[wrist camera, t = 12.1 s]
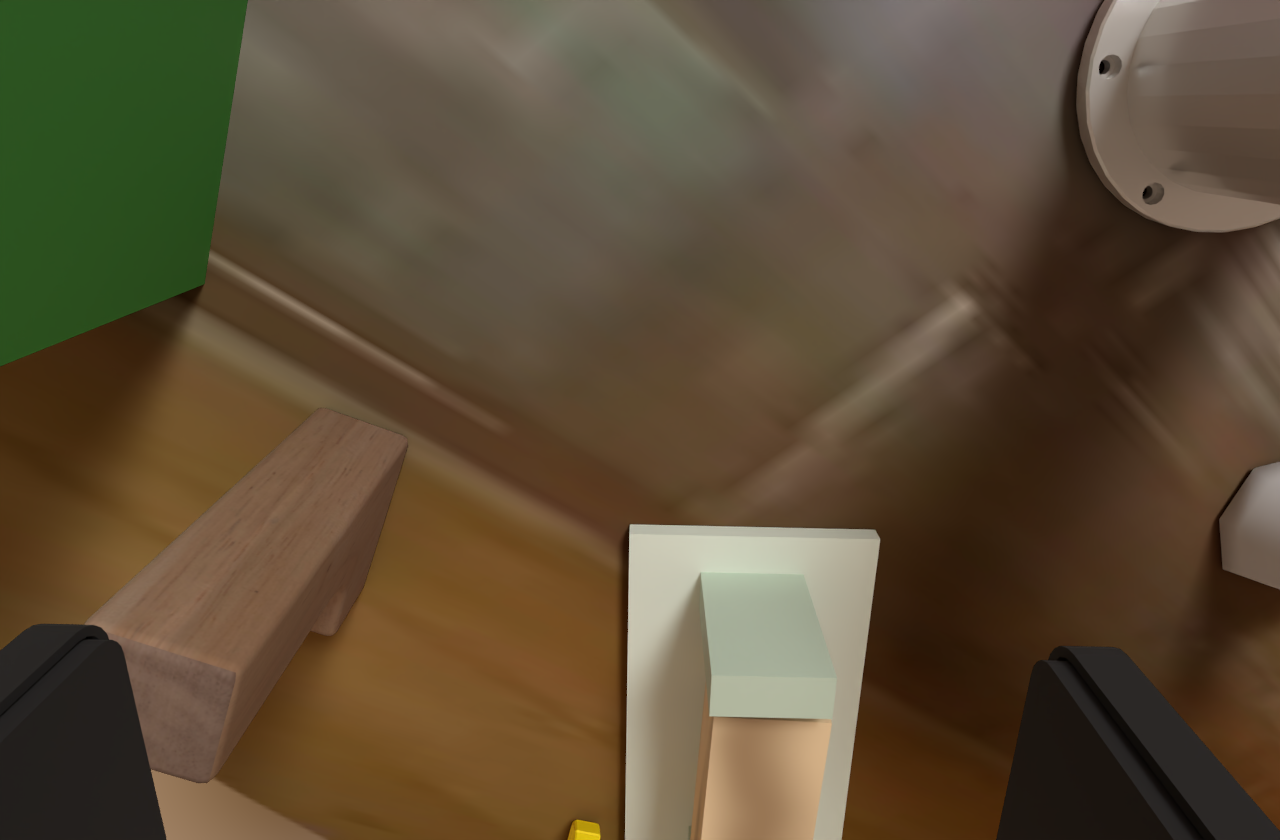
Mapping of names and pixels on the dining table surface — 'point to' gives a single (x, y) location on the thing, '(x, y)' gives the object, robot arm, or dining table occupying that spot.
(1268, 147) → the robot arm
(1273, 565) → the flask
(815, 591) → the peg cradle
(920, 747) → the dining table surface
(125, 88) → the green cereal box
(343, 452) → the wooden block
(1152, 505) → the dining table surface
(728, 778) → the tan wooden bar
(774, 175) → the dining table surface
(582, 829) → the watch
